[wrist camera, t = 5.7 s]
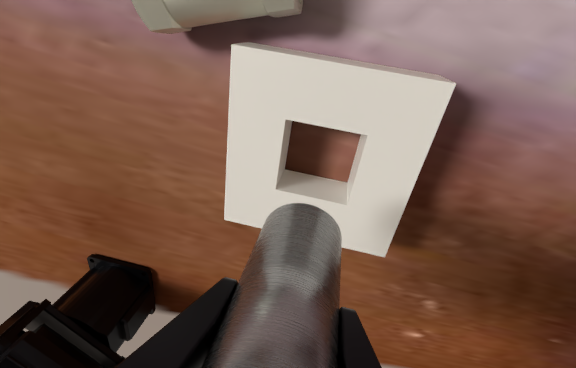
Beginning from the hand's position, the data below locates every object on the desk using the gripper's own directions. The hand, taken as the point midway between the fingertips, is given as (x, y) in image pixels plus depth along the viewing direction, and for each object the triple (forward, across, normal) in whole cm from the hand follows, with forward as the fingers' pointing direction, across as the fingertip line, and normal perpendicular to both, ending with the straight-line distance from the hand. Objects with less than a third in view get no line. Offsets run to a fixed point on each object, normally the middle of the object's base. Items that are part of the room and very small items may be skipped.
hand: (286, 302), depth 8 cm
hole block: (+13, 0, 0) cm, 13 cm away
